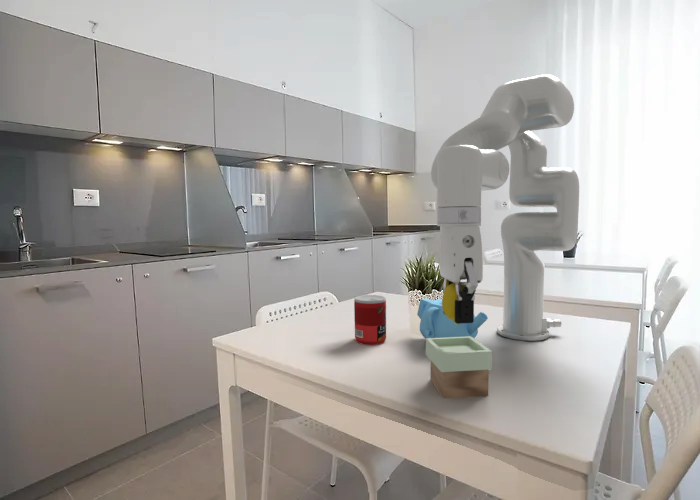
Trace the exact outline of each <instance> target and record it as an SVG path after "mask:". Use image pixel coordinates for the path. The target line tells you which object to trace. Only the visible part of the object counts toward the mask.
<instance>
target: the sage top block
mask: <svg viewBox="0 0 700 500" xmlns="http://www.w3.org/2000/svg"><path fill="white" fill-rule="evenodd" d="M425 356H426V357H427V358H428V359H429V360H430V362H431V361H432V362H433V363H434V364H435V366H436V367H437V368H438V369H439V370H440V371H441V372H454V371H472V370H489V371H490V370H492V369H493V367H492V366H493V363H492V362H493V351H492V350H491V349H490V348H488V347H487V346H485V345H484V344H483V343H481V342H480V341H478V340H477V338H476V339H475V338H473V337H471V336H466V337H445V338H426V339H425Z"/></svg>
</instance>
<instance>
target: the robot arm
mask: <svg viewBox="0 0 700 500" xmlns="http://www.w3.org/2000/svg"><path fill="white" fill-rule="evenodd" d="M574 111H575V102H574V97H573V95H572V93H571V91H570V90H569V89H568V87H567V86H566V85H565V83H563V82H562V80H561V79H559V78H558V77H556V76H554V75H552V74H541V75H535V76H530V77H527V78H521V79H516V80H512V81H508V82H504V83H503V84H501V85H499V86H498V87H497V88H496V89H495V90H494V91H493V93H492V95H491V96H490V99H489V100H488V101H487V103H486V105H485V108H484V109H483V111H482V112H481V114H480V116H479V117H478V118H477V119H474V120H473V121H472V122H469V123H468V124H467V125H465V126H463V127H462V128H461V129H459V130H458V131H455V132H454V133H453V134H451V135H450V136H449V137H448V138H446V140H444V142H443V143H442V144H441V146H440V148H439V149H438V151H437V153H436V155H435V157H434V160H433V162H432V165H431V170H430V175H431V176H430V177H431V182H432V184H433V186H434V187H435V188H436V189H437V192H436V194H437V196H436V197H437V198H436V201H437V202H436V203H437V204H436V206H437V208H436V226H437V227H440V239H439V252H438V253H439V254H438V255H439V257H438V259H439V261H438V263H439V265H438V266H439V274H440V276H441V277H442V278H443V280H442V282H443V285H442V286H443V287H442V292H443V293H444V291H445V289H446V288H447V287H448V286H449V285H450V284H452V283H455V285H456V295H457V300H455V322H456V323H457V324H460V323H473V322H474V316H475V310H474V309H475V298H476V296H475V293H476V289H477V287H479V286H478V285H479V284H480V283H482V282H483V281H484V267H483V261H484V260H483V244H482V235H481V234H482V233H481V228H480V226H482V223H481V222H482V192H483V191H492V190H497V189H499V188H500V187H502V186H503V185H504V184H505V183H506V182H507V180H508V178H509V188H508V189H509V190H508V193H509V195H508V196H509V200H510V203H511V204H512V205H513V206H515V207H519V208H544V207H545V208H549V207H550V208H555V209H556V211H548V212H547V211H542V212H541V211H530V212H529V211H528V212H527V211H525V212H514V213H511V214H509V215H507V216H506V217H505V218H504V219H503V220H502V222H501V225H500V235H501V242H502V249H503V266H504V267H503V269H504V270H503V317H502V318H503V319H502V321H503V324H500V325H498V326H497V327H496V333H497V334H498V335H499V336H502V337H504V338H509V339H512V340H517V341H518V340H519V341H526V342H528V341H529V342H531V341H532V342H535V341H542V340H546V339H548V338H549V337H550V331H549V330H548V329H550V328H561V327H562V321H561V319H551V318H549V317H547V318H546V317H544V294H545V293H544V292H545V291H544V289H545V288H544V287H545V268H544V264H543V262H542V260H541V259H540V258H539V256H538V255H537V254H536V253H535V252H537V251H543V252H544V251H548V252H566V251H571V250H572V249H573V248H574V247H575V246H576V243H577V240H578V233H579V232H578V231H579V230H578V229H579V211H580V210H579V209H580V208H579V207H580V179H579V176H578V173H577V172H576V170H574V169H573V168H571V167H564V166H562V167H561V166H560V167H559V166H558V167H547V159H548V158H547V157H548V156H547V155H548V151H547V147H546V145H545V144H544V142H543V141H542V140H541V139H540V138H539V137H538V136H537V135H536V134H535V133H534V131H541V130H548V129H549V130H550V129H557V128H561V127H564V126H566V125H568V124H570V122H571V121H572V118H573V116H574V114H575V113H574ZM507 146H508V150H509V152H510V154H509V155H510V162H509V160H508V158H507V157H506V155H504V153H502V151H500V150H501V149H503V148H505V147H507ZM534 251H535V252H534ZM463 280H466V281H463ZM461 286H466V287H464V288H463V290H462V292H461ZM443 313H444V311H443ZM444 314H445V313H444Z"/></svg>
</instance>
